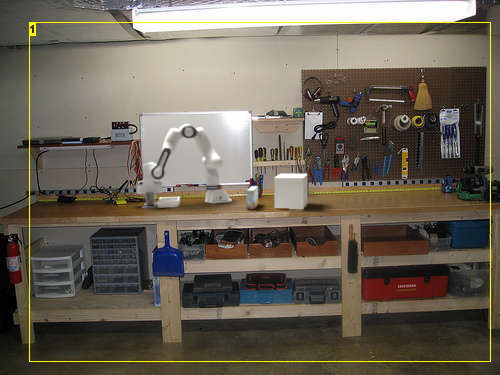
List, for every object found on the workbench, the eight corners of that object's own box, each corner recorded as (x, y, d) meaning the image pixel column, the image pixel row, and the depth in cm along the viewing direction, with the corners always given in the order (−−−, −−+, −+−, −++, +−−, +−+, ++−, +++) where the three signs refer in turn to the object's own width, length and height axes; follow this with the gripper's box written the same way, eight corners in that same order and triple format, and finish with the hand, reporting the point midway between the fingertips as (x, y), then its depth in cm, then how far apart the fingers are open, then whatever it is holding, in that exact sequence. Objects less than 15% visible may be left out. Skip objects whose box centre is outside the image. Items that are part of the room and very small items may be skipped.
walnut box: (154, 201, 308) (154, 190, 307) (152, 204, 297) (151, 193, 295) (148, 201, 308) (147, 191, 306) (146, 204, 296) (145, 193, 295)
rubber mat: (158, 203, 311) (158, 202, 311) (156, 207, 295) (156, 206, 295) (145, 204, 310) (145, 203, 310) (141, 208, 294) (141, 207, 294)
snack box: (253, 210, 278) (253, 190, 276) (246, 209, 280) (245, 190, 277) (258, 204, 299) (258, 185, 297) (251, 204, 300) (251, 185, 298)
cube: (303, 211, 273) (303, 178, 269) (274, 210, 278) (274, 177, 275) (307, 204, 297) (307, 173, 293) (281, 203, 302) (280, 173, 299)
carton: (180, 202, 314) (179, 196, 313) (178, 206, 296) (178, 200, 295) (160, 203, 312) (160, 197, 311) (157, 207, 294) (157, 201, 294)
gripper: (162, 180, 304) (163, 197, 306) (137, 181, 302) (138, 198, 304) (161, 181, 297) (162, 198, 300) (135, 182, 295) (136, 200, 298)
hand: (150, 198), depth 302 cm, fingers closed on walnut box, 5 cm apart
